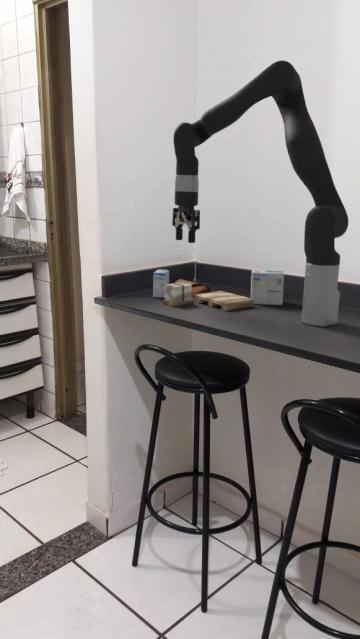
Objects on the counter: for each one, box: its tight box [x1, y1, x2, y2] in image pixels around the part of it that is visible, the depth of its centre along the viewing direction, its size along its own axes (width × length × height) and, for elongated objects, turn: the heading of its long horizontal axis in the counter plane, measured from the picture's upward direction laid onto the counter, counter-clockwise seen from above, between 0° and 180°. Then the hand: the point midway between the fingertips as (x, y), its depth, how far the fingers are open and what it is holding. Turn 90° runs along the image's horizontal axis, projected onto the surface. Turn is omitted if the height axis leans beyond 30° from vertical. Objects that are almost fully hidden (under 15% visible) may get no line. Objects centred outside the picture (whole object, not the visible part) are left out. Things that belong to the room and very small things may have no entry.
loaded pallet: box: [162, 282, 195, 308], centre depth 170 cm, size 5×9×6 cm, turn 128°
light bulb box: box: [250, 269, 285, 306], centre depth 173 cm, size 11×7×11 cm, turn 84°
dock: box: [193, 290, 254, 312], centre depth 170 cm, size 16×12×2 cm
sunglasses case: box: [174, 278, 212, 298], centre depth 190 cm, size 18×7×7 cm
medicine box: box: [152, 269, 170, 299], centre depth 182 cm, size 8×4×9 cm, turn 172°
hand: (185, 241), depth 168 cm, fingers open, 8 cm apart
